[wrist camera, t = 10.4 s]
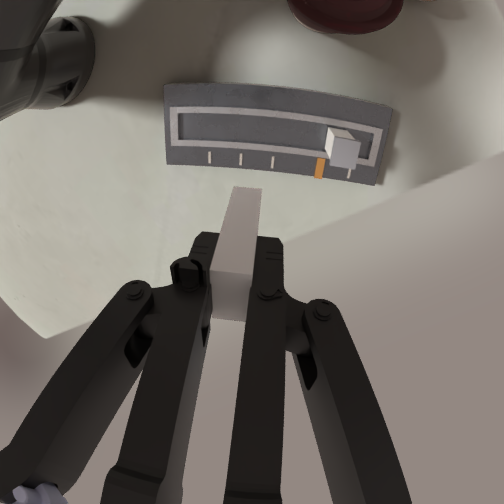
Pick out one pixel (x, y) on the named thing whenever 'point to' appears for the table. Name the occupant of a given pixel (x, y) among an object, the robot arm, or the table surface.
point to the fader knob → (342, 148)
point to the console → (270, 128)
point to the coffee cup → (345, 15)
